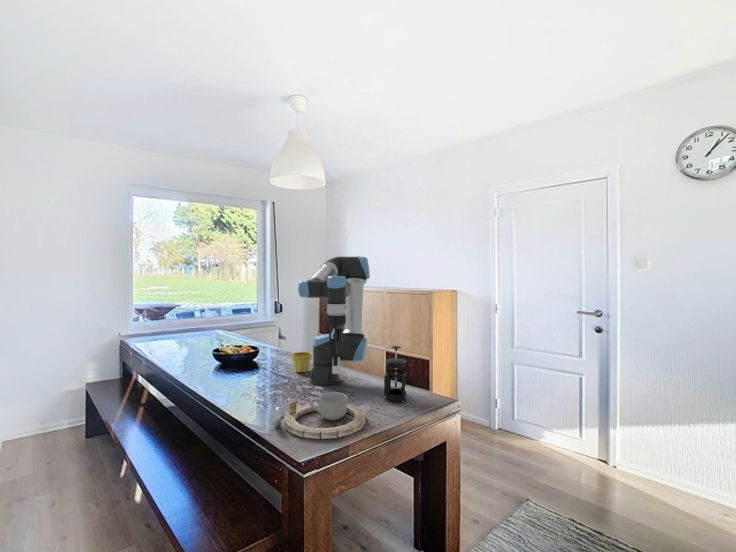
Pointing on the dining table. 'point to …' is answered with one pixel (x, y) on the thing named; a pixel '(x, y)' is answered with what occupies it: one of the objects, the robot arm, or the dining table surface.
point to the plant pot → (301, 361)
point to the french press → (395, 389)
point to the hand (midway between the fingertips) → (336, 373)
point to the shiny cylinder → (277, 417)
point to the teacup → (331, 405)
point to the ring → (322, 432)
